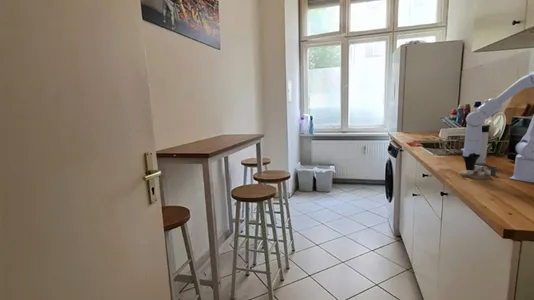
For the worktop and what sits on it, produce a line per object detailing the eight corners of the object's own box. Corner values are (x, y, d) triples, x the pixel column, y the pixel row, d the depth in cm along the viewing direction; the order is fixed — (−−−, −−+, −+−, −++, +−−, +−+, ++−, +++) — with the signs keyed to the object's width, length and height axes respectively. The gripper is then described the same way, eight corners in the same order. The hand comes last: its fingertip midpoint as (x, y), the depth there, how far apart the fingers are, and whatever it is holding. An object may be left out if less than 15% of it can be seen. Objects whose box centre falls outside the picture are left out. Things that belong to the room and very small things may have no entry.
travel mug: (488, 165, 144) (493, 125, 141) (473, 165, 146) (478, 125, 142) (481, 162, 150) (486, 124, 147) (467, 162, 152) (471, 124, 148)
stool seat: (493, 176, 124) (494, 169, 124) (485, 180, 118) (486, 173, 117) (464, 171, 133) (465, 165, 132) (455, 175, 126) (456, 168, 126)
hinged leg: (487, 172, 125) (487, 166, 124) (485, 173, 123) (486, 167, 123) (468, 169, 130) (468, 163, 130) (466, 170, 129) (466, 164, 128)
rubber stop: (495, 174, 126) (496, 166, 125) (493, 175, 125) (495, 167, 124) (491, 174, 127) (492, 165, 127) (490, 175, 126) (491, 166, 125)
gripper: (468, 137, 132) (465, 166, 134) (455, 140, 123) (452, 171, 126) (486, 139, 127) (483, 168, 129) (475, 142, 118) (471, 174, 120)
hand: (469, 170), depth 127 cm, fingers closed
